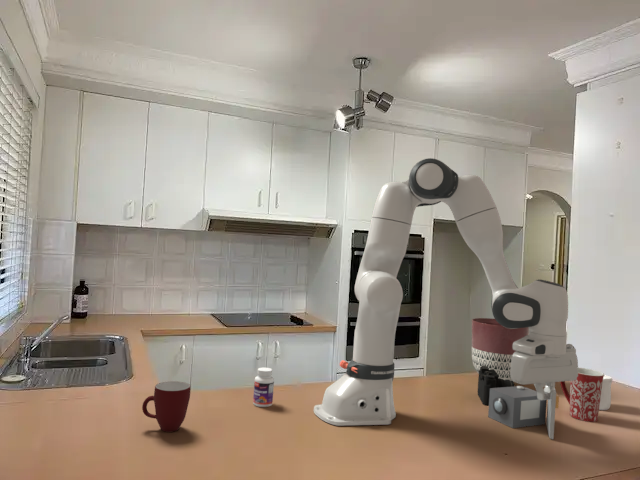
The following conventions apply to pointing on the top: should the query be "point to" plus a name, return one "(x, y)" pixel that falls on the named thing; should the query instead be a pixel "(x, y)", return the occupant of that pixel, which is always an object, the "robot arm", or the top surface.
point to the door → (552, 413)
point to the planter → (494, 345)
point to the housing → (516, 406)
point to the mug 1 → (169, 404)
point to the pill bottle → (263, 388)
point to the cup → (605, 393)
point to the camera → (489, 383)
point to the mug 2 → (584, 394)
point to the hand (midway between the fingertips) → (543, 399)
